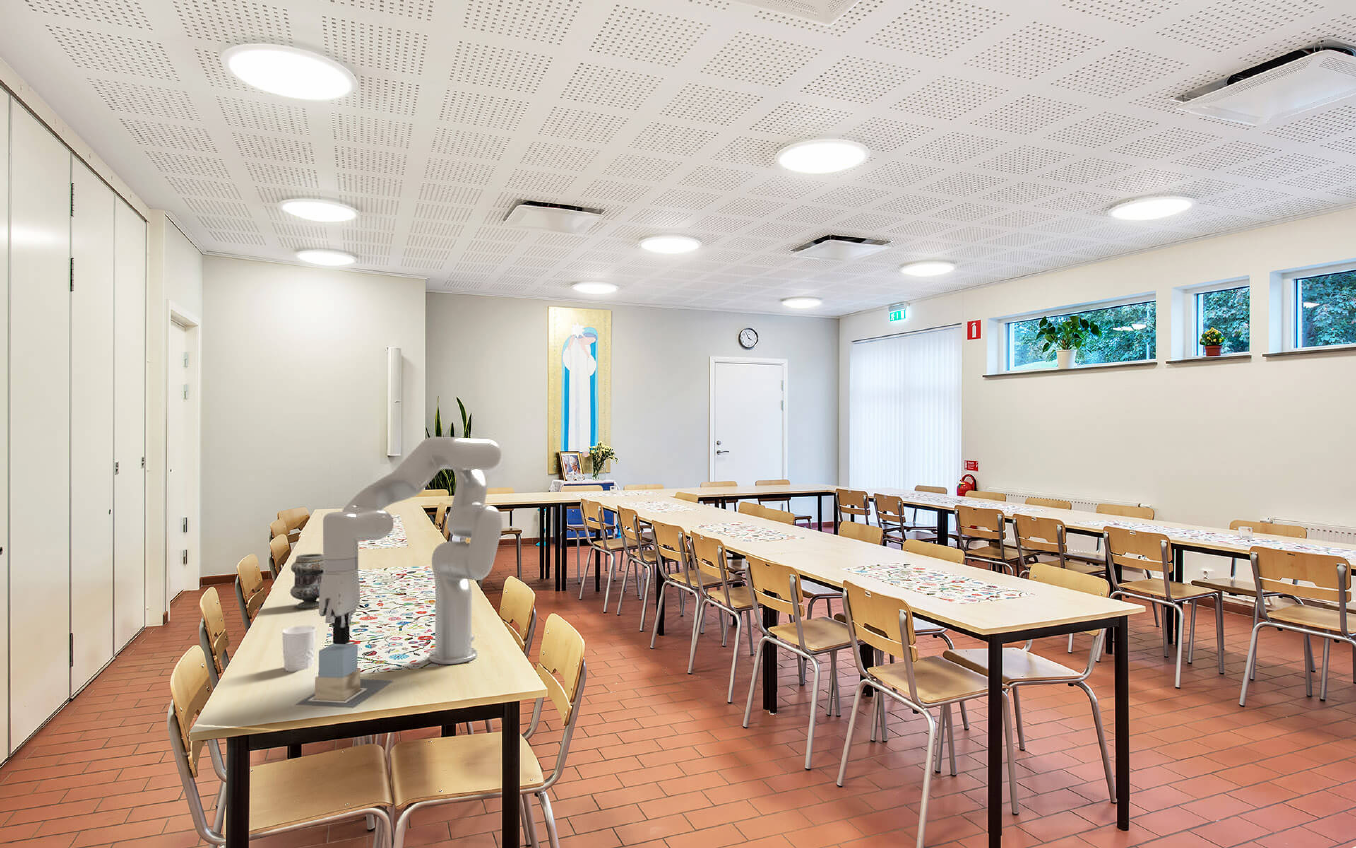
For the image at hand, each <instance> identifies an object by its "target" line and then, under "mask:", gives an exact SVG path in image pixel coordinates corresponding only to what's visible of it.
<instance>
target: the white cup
mask: <svg viewBox="0 0 1356 848" xmlns="http://www.w3.org/2000/svg"><path fill="white" fill-rule="evenodd" d="M281 632H282V651H283V655H282V657H283V663H284V664H283V665H284V667H283V668H284V671H286V672H290V673H291V672H292V673H293V672H298V671H303V670H306V669H309V668H311V667H313V666H314V665H315V664H314V663H315V662H314V661H315V653H316V640H317V639H316V637H317V636H316V635H317V633H316V632H317V627H315V626H313V625H298V626H296V625H295V626H292V627H288V628H285V629H283V630H282V631H281Z"/></svg>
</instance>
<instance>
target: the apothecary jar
mask: <svg viewBox="0 0 1356 848" xmlns="http://www.w3.org/2000/svg"><path fill="white" fill-rule="evenodd" d="M290 570H291V571H292V572H293V574H294V584H293V586H292V587H291V589H290V591H289V592H290V595H291V596H292V598H294V599H296V600H301V601H302V602H299V603H297V604H295V605H294V607H293V609H294V610H297V609H300V610H299V611H307V609H310V610H315V609H319V600H318V599H319V595H320V584H321V578H322V574H324V573H323V553H304V554H303V553H302V554H299V555H296V558H295V561H294V562H293V563H292V564H291V565H290Z"/></svg>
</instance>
